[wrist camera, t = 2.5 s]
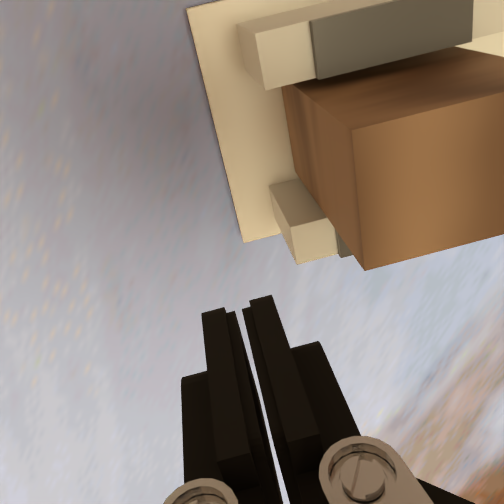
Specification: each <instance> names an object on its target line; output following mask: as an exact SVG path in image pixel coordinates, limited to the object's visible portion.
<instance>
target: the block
mask: <svg viewBox="0 0 504 504" xmlns="http://www.w3.org/2000/svg"><path fill="white" fill-rule="evenodd" d="M281 89H282V95H283V101H284V107H285V113H286V120H287V126H288V132H289V138H290V144H291V150H292V156H293V162H294V168H295V172H296V174H297V175H298V177H299V178H300V179H301V181H302V182H303V184H304V185H305V187H306V188H307V189H308V191H309V192H310V194H311V195H312V197H313V198H314V199H315V201H316V202H317V204H318V205H319V207H320V208H321V209H322V211H323V212H324V214H325V215H326V217H327V218H328V219H329V221H330V222H331V224H332V225H333V227H334V228H335V229H336V231H337V232H338V234H339V235H340V237H341V238H342V239H343V241H344V242H345V244H346V245H347V247H348V248H349V249H350V251H351V252H352V254H353V255H354V257H355V258H356V259H357V261H358V262H359V264H360V265H361V267H362V268H363V269H364V271H366V270H370V269H374V268H378V267H382V266H385V265H389V264H393V263H397V262H400V261H404V260H408V259H412V258H415V257H419V256H423V255H427V254H431V253H434V252H438V251H442V250H446V249H449V248H453V247H457V246H461V245H464V244H468V243H472V242H476V241H480V240H483V239H487V238H491V237H495V236H498V235H502V234H504V57H502V56H497V55H493V54H488V53H483V52H479V51H474V50H470V49H465V48H460V47H456V46H453V47H449V48H445V49H441V50H437V51H433V52H429V53H425V54H421V55H417V56H413V57H409V58H405V59H401V60H397V61H393V62H389V63H385V64H381V65H377V66H373V67H369V68H364V69H360V70H356V71H352V72H348V73H344V74H340V75H336V76H332V77H328V78H324V79H320V80H319V79H317V78H314V79H310V80H306V81H302V82H298V83H294V84H290V85H286V86H282V87H281Z"/></svg>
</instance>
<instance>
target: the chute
mask: <svg viewBox="0 0 504 504" xmlns="http://www.w3.org/2000/svg"><path fill="white" fill-rule="evenodd" d="M186 11H187V15H188V19H189V24H190V28H191V32H192V36H193V40H194V44H195V48H196V52H197V56H198V60H199V64H200V68H201V72H202V77H203V81H204V85H205V89H206V93H207V97H208V101H209V105H210V109H211V113H212V117H213V121H214V125H215V130H216V134H217V138H218V142H219V146H220V150H221V154H222V158H223V162H224V166H225V170H226V174H227V178H228V183H229V187H230V191H231V195H232V199H233V203H234V207H235V211H236V215H237V219H238V223H239V227H240V231H241V235H242V239H243V242H244V243H246V242H250V241H253V240H257V239H261V238H265V237H269V236H273V235H277V234H280V233H282V234H283V237H284V239H285V241H286V243H287V245H288V247H289V249H290V251H291V253H292V256H293V258H294V260H295V262H296V264H301V263H305V262H309V261H313V260H316V259H320V258H324V257H328V256H332V255H335V254H339V256H340V257H341V258H343V257H347V256H351V255H353V254H352V252H351V251H350V249H349V248H348V247H347V245H346V244H345V242H344V241H343V239H342V238H341V237H340V235H339V234H338V232H337V231H336V229H335V228H334V227H333V225H332V224H331V222H330V221H329V219H328V218H327V217H326V215H325V214H324V212H323V211H322V209H321V208H320V207H319V205H318V204H317V202H316V201H315V199H314V198H313V197H312V195H311V194H310V192H309V191H308V189H307V188H306V187H305V185H304V184H303V182H302V181H301V179H300V178H299V177H298V175H297V174H296V172H295V168H294V162H293V156H292V150H291V144H290V138H289V132H288V126H287V120H286V113H285V107H284V101H283V95H282V89H281V87H282V86H286V85H290V84H294V83H298V82H302V81H306V80H310V79H314V78H317V79H319V80H320V79H324V78H328V77H332V76H336V75H340V74H344V73H348V72H352V71H356V70H360V69H364V68H369V67H373V66H377V65H381V64H385V63H389V62H393V61H397V60H401V59H405V58H409V57H413V56H417V55H421V54H425V53H429V52H433V51H437V50H441V49H445V48H449V47H453V46H456V47H460V48H465V49H470V50H474V51H479V52H483V53H488V54H493V55H497V56H502V57H504V0H219V1H214V2H210V3H206V4H202V5H198V6H194V7H189V8H186Z"/></svg>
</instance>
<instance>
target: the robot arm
mask: <svg viewBox="0 0 504 504" xmlns="http://www.w3.org/2000/svg"><path fill="white" fill-rule="evenodd" d="M249 302H250V306H251V307H248V308H244V309H242V312H243V316H244V320H245V325H246V329H247V333H248V337H249V342H250V346H251V350H252V354H253V359H254V363H255V367H256V371H257V376H258V380H259V384H260V388H261V393H262V397H263V401H264V405H265V410H266V414H267V418H268V422H269V427H270V431H271V435H272V439H273V443H274V447H275V451H276V454H277V458H278V462H279V465H280V469H281V473H282V476H283V480H284V483H285V487H286V491H287V494H288V498H289V501H290V504H475V503H473V502H470V501H468V500H466V499H463V498H461V497H459V496H457V495H454V494H452V493H450V492H447V491H445V490H443V489H441V488H438V487H436V486H434V485H431V484H429V483H427V482H425V481H422V480H420V479H418V478H415V476H414V475H413V473H412V472H411V471H410V469H409V468H408V466H407V465H406V464H405V462H404V461H403V459H402V458H401V456H400V455H399V454H398V453H397V452H396V451H395V450H394V449H393V448H392V447H391V446H390V445H388V444H386V443H385V442H383V441H381V440H379V439H376V438H372V437H368V436H361V435H360V432H359V430H358V428H357V425H356V423H355V421H354V419H353V416H352V414H351V412H350V409H349V407H348V405H347V403H346V400H345V398H344V396H343V394H342V391H341V389H340V387H339V384H338V382H337V380H336V378H335V375H334V373H333V371H332V368H331V366H330V364H329V362H328V359H327V357H326V355H325V352H324V350H323V348H322V346H321V344H320V342H319V341H317V342H313V343H309V344H305V345H302V346H298V347H294V348H290V346H289V343H288V340H287V337H286V335H285V332H284V329H283V326H282V323H281V320H280V317H279V314H278V312H277V309H276V306H275V303H274V300H273V297H272V295H269V296H265V297H261V298H257V299H253V300H250V301H249ZM202 325H203V334H204V344H205V354H206V363H207V371H204V372H201V373H197V374H193V375H190V376H186V377H182V379H181V399H182V429H183V460H184V485H182V486H180V487H178V488H177V489H176V490H175V491H174V492H173V493H172V494H171V495H169V496H168V497H167V498H166V500H165V502H164V503H163V504H283V501H282V496H281V492H280V488H279V483H278V479H277V474H276V470H275V465H274V461H273V457H272V452H271V448H270V443H269V439H268V435H267V430H266V426H265V421H264V417H263V412H262V408H261V404H260V400H259V396H258V392H257V388H256V385H255V381H254V378H253V374H252V371H251V367H250V363H249V360H248V356H247V353H246V349H245V345H244V342H243V338H242V335H241V331H240V328H239V324H238V320H237V317H236V313H235V311H232V312H229V313H226V310H225V308H224V307H223V308H219V309H215V310H212V311H208V312H204V313H202Z"/></svg>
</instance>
